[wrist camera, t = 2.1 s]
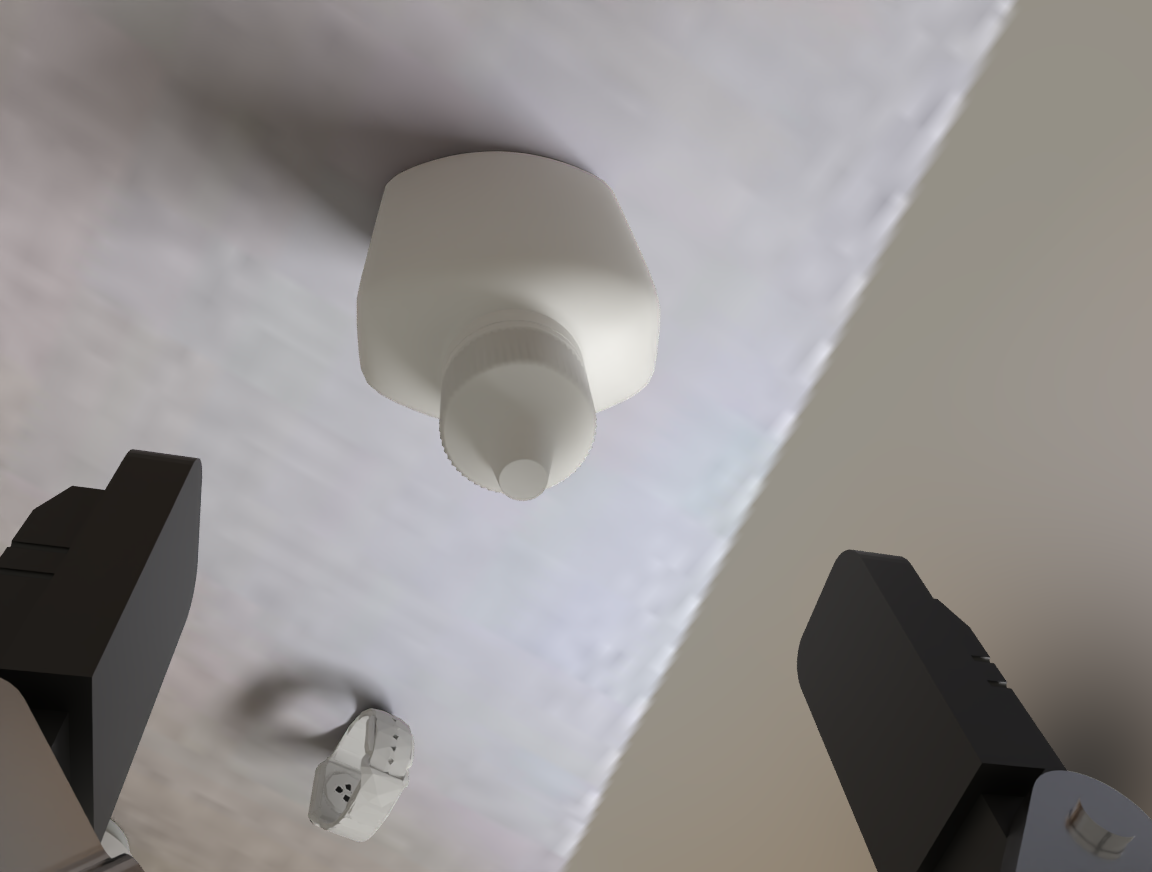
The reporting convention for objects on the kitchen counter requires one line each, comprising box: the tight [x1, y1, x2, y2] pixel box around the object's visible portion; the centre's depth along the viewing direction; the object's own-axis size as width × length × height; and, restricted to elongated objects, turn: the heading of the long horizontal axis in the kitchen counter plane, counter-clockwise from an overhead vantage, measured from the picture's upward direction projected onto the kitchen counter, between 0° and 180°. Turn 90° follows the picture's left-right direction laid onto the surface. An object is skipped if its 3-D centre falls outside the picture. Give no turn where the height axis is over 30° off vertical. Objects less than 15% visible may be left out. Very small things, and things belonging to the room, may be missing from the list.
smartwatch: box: [308, 708, 414, 842], centre depth 30 cm, size 4×2×4 cm, turn 143°
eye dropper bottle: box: [357, 151, 660, 501], centre depth 19 cm, size 4×6×12 cm
